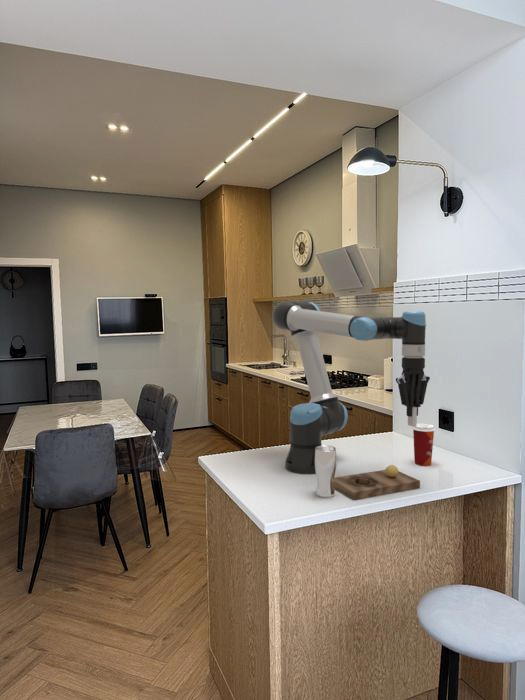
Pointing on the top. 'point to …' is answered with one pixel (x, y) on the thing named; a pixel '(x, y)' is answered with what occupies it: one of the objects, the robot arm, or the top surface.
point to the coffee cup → (423, 443)
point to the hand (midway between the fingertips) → (412, 425)
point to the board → (374, 484)
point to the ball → (391, 470)
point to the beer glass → (325, 470)
